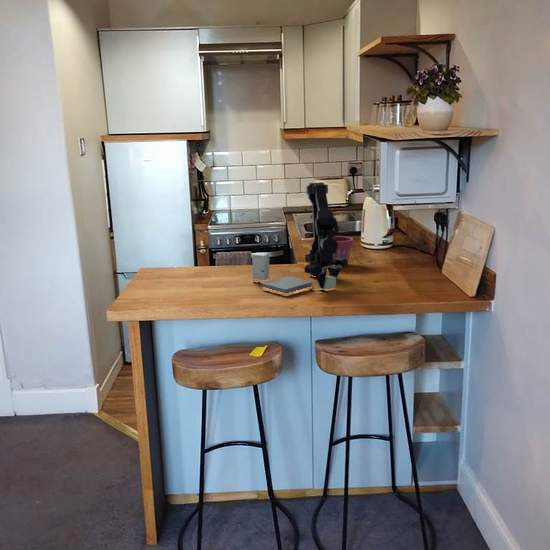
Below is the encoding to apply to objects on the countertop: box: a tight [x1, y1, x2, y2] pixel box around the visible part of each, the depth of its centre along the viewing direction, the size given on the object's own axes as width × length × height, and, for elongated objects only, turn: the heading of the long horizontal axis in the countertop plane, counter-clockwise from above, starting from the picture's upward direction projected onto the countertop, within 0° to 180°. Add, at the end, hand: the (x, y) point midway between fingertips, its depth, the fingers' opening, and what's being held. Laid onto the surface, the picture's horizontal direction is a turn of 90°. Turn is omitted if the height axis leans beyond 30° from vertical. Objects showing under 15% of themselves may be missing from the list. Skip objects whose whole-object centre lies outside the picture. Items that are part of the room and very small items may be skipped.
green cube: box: [317, 274, 337, 289], centre depth 225 cm, size 5×5×5 cm
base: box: [261, 276, 313, 293], centre depth 227 cm, size 14×14×3 cm
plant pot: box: [334, 235, 354, 267], centre depth 261 cm, size 14×14×13 cm
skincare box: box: [251, 252, 270, 280], centre depth 239 cm, size 6×4×12 cm
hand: (326, 287), depth 225 cm, fingers closed on green cube, 5 cm apart
